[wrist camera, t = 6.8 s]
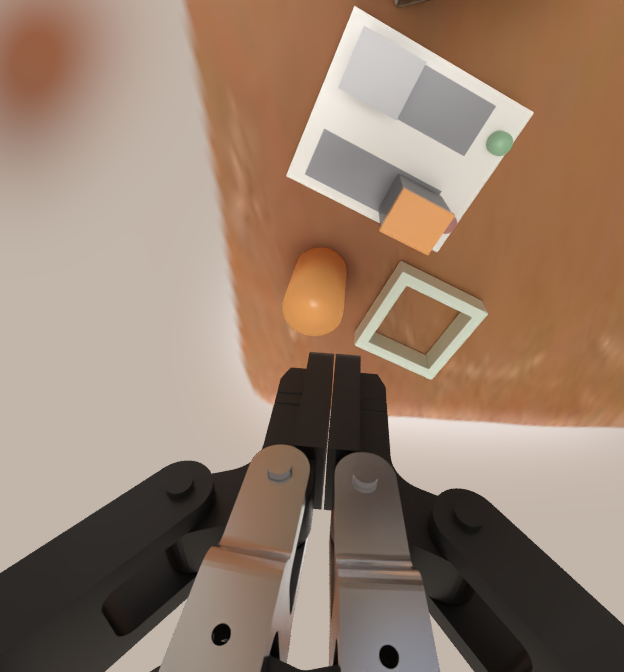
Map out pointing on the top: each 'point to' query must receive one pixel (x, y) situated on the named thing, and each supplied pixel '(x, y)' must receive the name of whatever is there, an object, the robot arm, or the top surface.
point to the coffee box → (406, 2)
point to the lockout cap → (316, 292)
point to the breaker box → (406, 134)
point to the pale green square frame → (449, 340)
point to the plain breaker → (381, 73)
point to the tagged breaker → (414, 215)
